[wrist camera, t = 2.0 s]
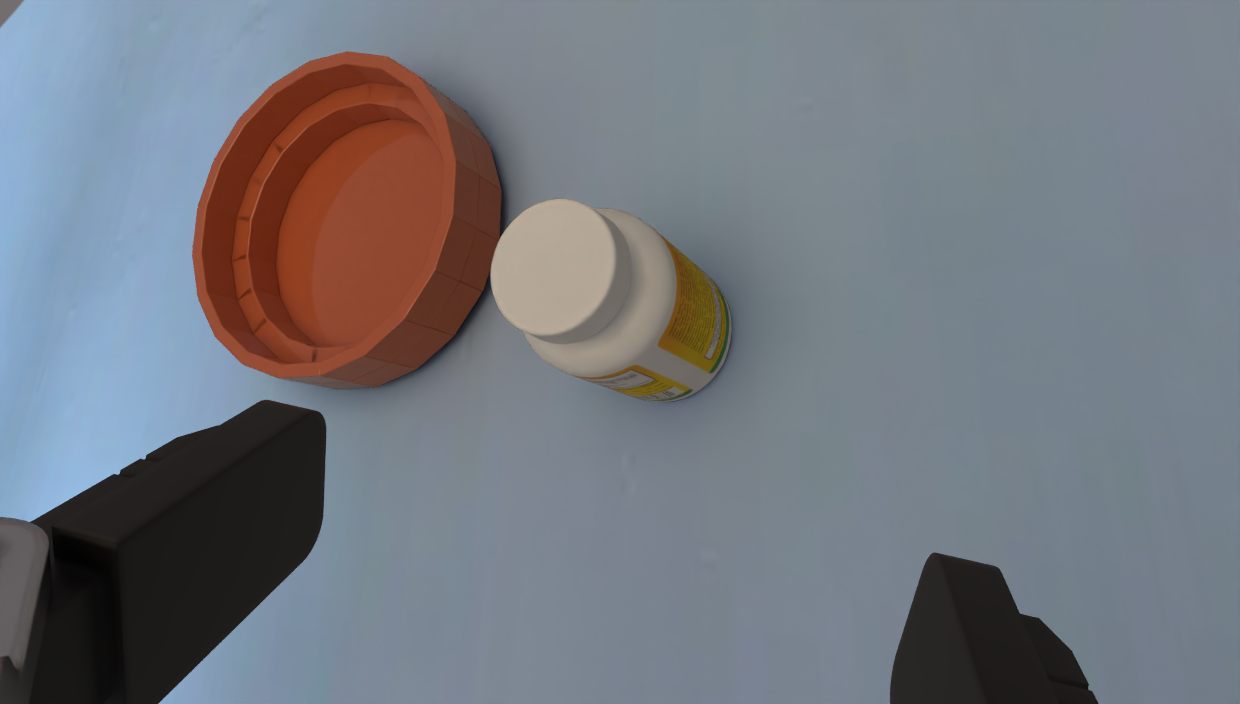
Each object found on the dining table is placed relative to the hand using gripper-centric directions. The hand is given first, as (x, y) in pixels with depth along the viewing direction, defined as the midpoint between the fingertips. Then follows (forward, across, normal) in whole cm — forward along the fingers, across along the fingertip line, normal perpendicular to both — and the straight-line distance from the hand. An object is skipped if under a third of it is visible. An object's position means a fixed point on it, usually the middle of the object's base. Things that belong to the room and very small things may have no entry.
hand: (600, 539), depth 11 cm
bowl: (+26, +16, +4) cm, 31 cm away
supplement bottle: (+21, +1, +4) cm, 22 cm away
